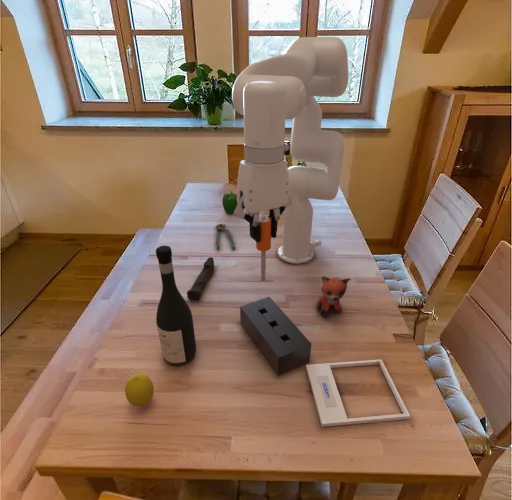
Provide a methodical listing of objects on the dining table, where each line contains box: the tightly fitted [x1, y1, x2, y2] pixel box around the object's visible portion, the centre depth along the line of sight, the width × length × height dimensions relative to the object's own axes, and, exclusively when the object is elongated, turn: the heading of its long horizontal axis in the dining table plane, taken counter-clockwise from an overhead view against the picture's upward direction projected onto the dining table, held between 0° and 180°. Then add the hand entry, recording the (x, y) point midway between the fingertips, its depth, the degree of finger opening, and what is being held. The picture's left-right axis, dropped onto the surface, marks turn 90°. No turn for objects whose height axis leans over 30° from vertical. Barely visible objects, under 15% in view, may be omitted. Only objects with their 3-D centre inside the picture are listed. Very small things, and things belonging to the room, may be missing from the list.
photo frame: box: [305, 358, 411, 428], centre depth 76 cm, size 15×1×18 cm
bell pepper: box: [221, 188, 237, 216], centre depth 152 cm, size 8×8×10 cm
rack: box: [239, 296, 312, 377], centre depth 88 cm, size 9×19×6 cm, turn 28°
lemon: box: [124, 373, 155, 407], centre depth 73 cm, size 6×6×8 cm
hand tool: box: [186, 256, 215, 302], centre depth 109 cm, size 19×4×5 cm, turn 166°
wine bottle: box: [155, 245, 197, 366], centre depth 78 cm, size 8×8×30 cm
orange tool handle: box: [255, 215, 272, 282], centre depth 79 cm, size 3×3×16 cm
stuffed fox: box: [316, 275, 351, 318], centre depth 98 cm, size 8×11×12 cm
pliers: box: [215, 223, 236, 251], centre depth 135 cm, size 20×6×1 cm, turn 9°
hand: (263, 236), depth 77 cm, fingers closed on orange tool handle, 3 cm apart
